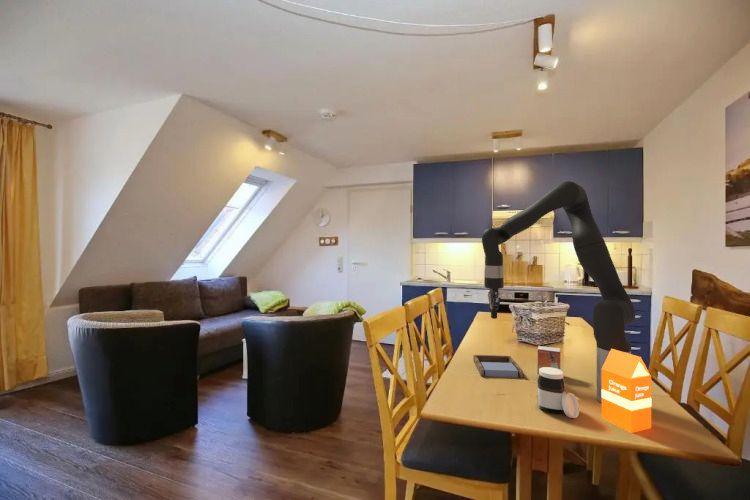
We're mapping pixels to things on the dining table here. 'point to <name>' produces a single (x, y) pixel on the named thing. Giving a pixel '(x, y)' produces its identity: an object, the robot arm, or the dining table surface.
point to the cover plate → (499, 369)
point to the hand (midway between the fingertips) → (494, 318)
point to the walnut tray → (494, 358)
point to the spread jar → (555, 393)
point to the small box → (548, 357)
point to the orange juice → (626, 391)
